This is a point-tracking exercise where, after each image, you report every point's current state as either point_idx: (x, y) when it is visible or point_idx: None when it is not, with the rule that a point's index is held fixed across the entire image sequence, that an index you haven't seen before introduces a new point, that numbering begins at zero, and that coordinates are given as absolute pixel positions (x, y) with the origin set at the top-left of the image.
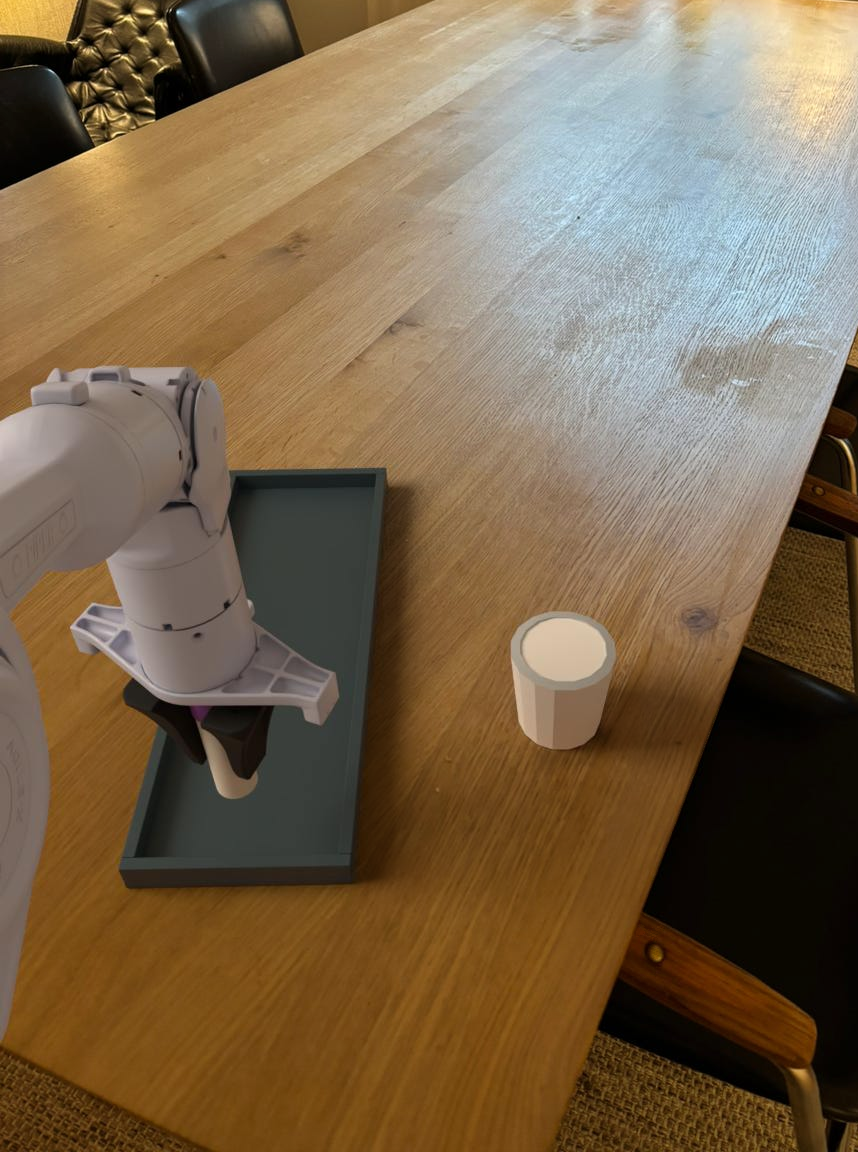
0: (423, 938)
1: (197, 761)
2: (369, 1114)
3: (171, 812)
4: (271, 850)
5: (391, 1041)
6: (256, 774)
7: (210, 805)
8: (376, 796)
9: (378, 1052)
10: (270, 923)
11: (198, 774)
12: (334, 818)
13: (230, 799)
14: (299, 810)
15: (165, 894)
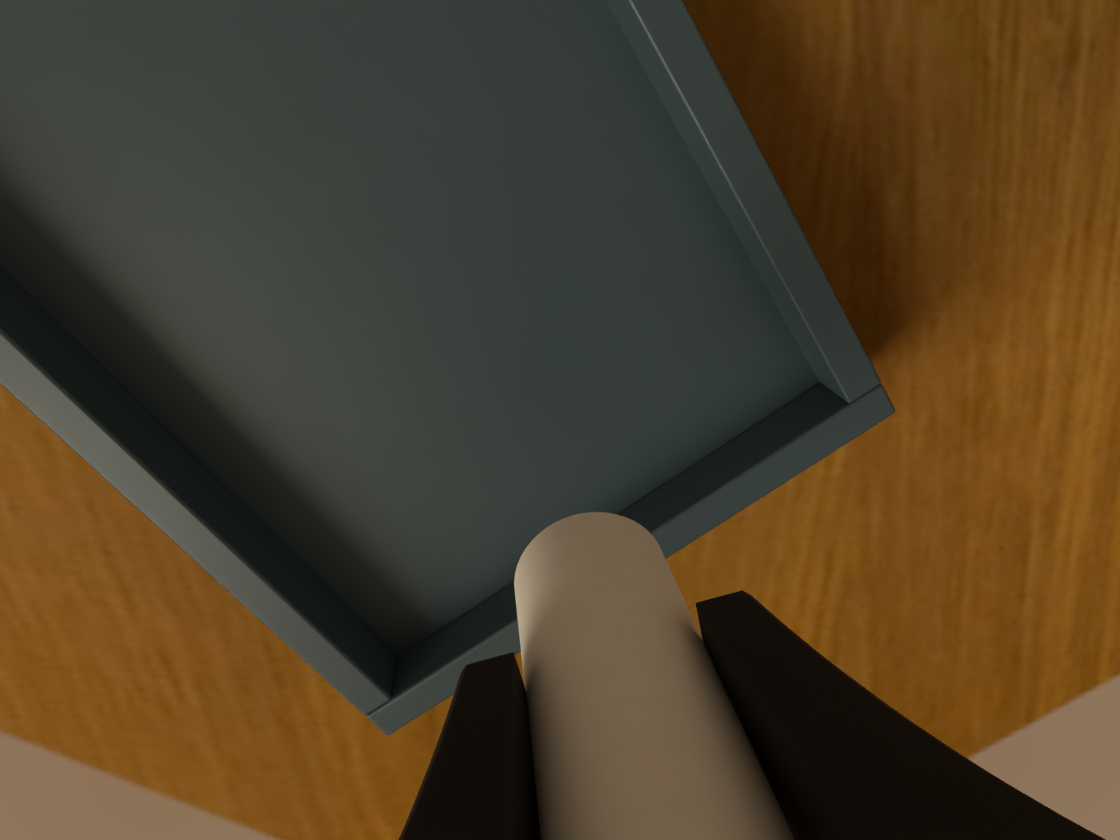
0: (1055, 388)
1: None
2: (1075, 667)
3: (322, 522)
4: (634, 449)
5: (1067, 572)
6: (658, 550)
7: (392, 448)
8: (769, 127)
9: (1052, 597)
10: (730, 551)
11: (275, 400)
12: (722, 279)
13: (424, 404)
14: (620, 318)
15: None
